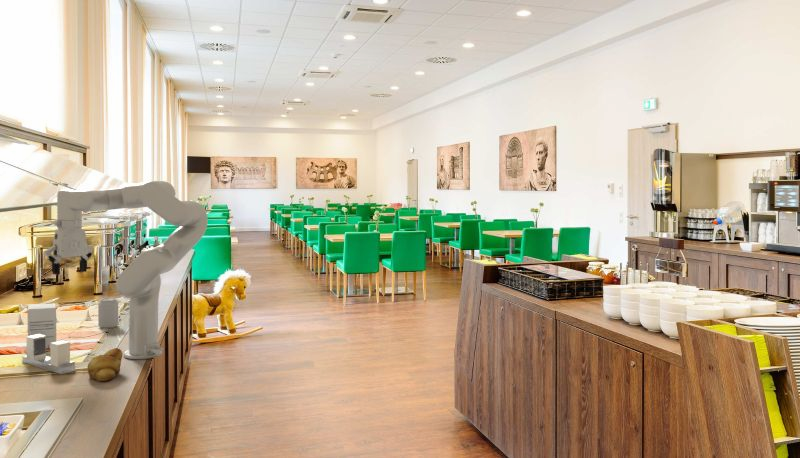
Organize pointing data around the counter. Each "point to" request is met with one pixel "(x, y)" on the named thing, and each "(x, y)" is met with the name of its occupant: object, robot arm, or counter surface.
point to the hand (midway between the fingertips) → (69, 272)
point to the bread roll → (105, 365)
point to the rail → (47, 366)
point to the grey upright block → (108, 313)
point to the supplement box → (42, 321)
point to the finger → (59, 352)
